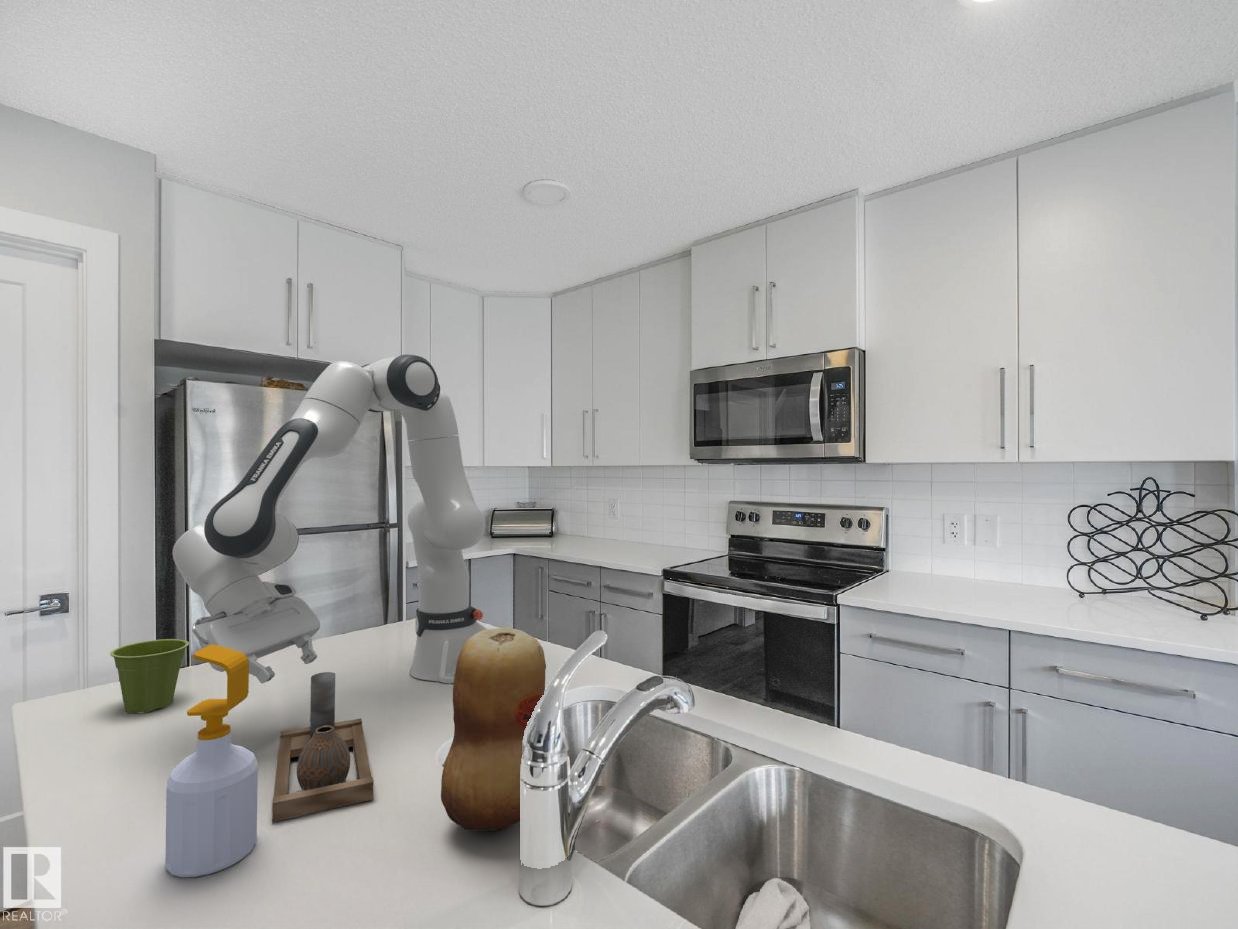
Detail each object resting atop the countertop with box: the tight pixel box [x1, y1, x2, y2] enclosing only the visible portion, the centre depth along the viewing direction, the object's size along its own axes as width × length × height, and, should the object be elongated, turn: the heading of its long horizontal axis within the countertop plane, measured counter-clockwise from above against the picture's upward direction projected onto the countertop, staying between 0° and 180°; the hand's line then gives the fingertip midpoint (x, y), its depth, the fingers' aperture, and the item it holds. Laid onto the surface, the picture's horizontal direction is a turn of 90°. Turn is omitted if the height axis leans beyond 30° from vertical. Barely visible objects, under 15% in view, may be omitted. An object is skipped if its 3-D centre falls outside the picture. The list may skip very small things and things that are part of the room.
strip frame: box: [271, 671, 374, 823], centre depth 91 cm, size 12×23×12 cm, turn 27°
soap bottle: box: [164, 645, 259, 878], centre depth 72 cm, size 9×9×25 cm
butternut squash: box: [440, 626, 547, 832], centre depth 79 cm, size 14×13×25 cm
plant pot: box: [109, 638, 190, 714], centre depth 114 cm, size 12×12×11 cm
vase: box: [296, 726, 351, 791], centre depth 86 cm, size 7×7×9 cm
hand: (291, 669), depth 100 cm, fingers open, 8 cm apart
